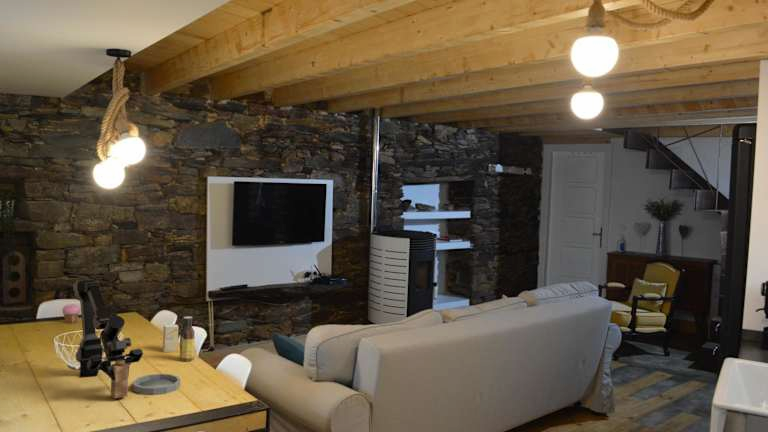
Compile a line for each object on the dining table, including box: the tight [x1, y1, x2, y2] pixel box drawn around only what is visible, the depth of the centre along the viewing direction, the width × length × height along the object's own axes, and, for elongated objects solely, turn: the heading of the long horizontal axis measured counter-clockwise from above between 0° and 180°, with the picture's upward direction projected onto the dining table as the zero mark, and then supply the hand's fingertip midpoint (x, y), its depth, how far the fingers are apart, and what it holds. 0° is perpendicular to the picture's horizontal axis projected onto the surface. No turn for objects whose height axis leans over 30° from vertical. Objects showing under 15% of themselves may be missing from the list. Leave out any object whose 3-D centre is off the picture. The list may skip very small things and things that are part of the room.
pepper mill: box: [110, 360, 129, 399], centre depth 220 cm, size 4×4×13 cm
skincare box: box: [162, 323, 179, 353], centre depth 282 cm, size 6×4×12 cm
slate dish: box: [132, 373, 181, 396], centre depth 234 cm, size 17×17×2 cm
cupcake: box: [61, 304, 81, 324], centre depth 326 cm, size 9×9×10 cm
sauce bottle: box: [179, 315, 195, 362], centre depth 269 cm, size 6×6×20 cm
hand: (120, 379), depth 219 cm, fingers closed on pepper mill, 4 cm apart
